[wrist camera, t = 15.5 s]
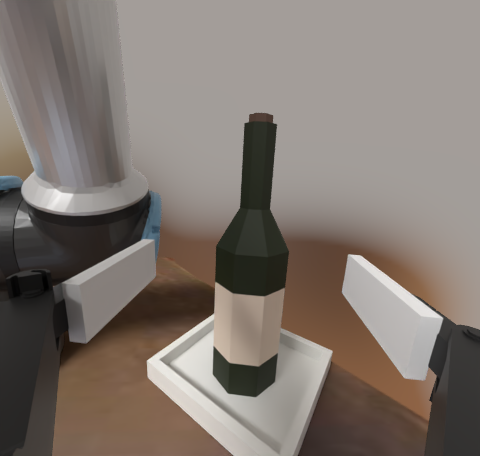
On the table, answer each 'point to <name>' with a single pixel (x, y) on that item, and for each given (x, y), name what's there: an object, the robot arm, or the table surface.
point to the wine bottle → (250, 274)
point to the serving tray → (244, 407)
